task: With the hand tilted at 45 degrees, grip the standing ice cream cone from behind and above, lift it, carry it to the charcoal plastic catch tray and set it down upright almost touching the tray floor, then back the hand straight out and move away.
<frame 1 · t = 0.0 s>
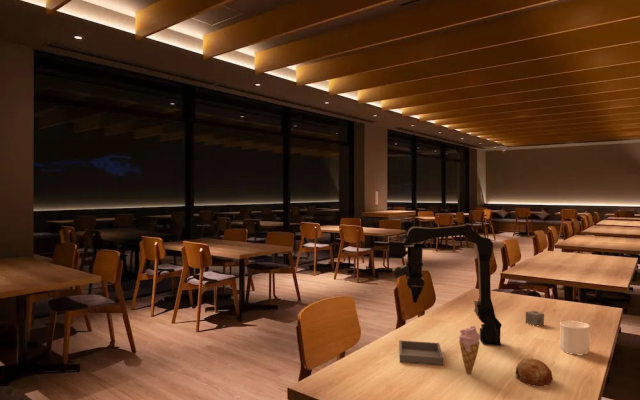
hand: (414, 299, 167), 15 cm above the table, tool pointing down, fingers open, 9 cm apart
ice cream cone: (468, 374, 134), on the table
dice cube: (534, 324, 186), on the table
cup: (574, 351, 155), on the table
bread roll: (533, 380, 131), on the table
catch tray: (420, 355, 148), on the table
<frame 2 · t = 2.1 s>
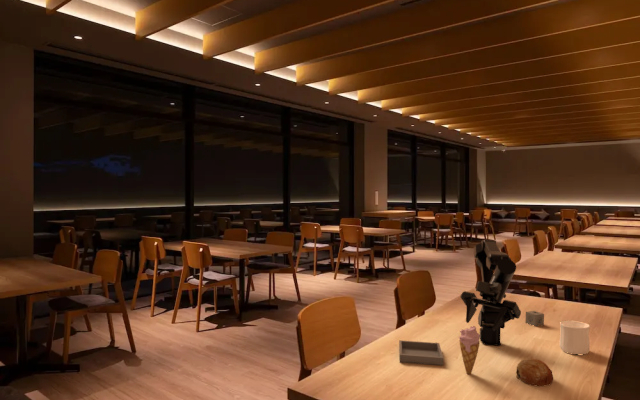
hand: (479, 325, 139), 13 cm above the table, tool tilted 45°, fingers open, 9 cm apart
nothing on the table moved.
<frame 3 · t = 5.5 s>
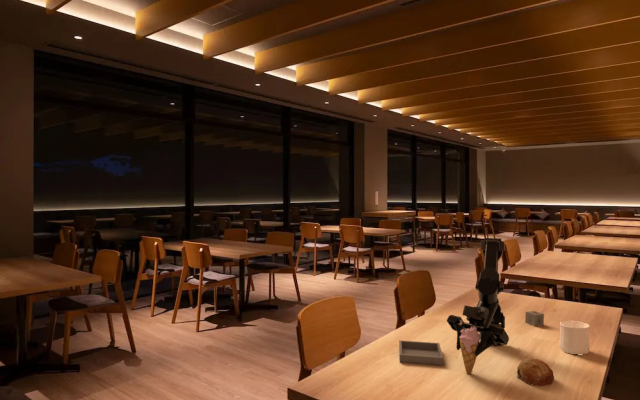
hand: (466, 352, 133), 7 cm above the table, tool tilted 45°, fingers closed on ice cream cone, 6 cm apart
ice cream cone: (468, 374, 134), on the table, touching gripper
everything else where it was.
when the fingers open (7 cm above the table, at t = 11.4 s): ice cream cone stays where it is, resting on catch tray.
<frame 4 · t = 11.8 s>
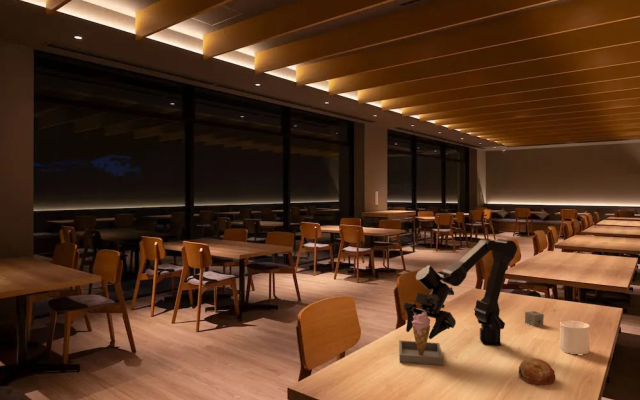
hand: (418, 334, 147), 8 cm above the table, tool tilted 45°, fingers open, 9 cm apart
ice cream cone: (420, 355, 148), resting on catch tray
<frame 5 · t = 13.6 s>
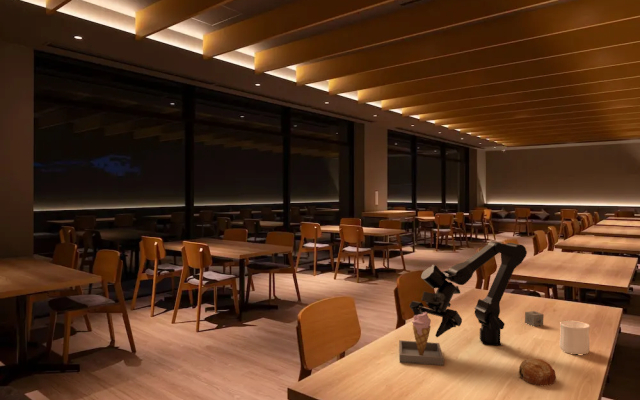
hand: (424, 333, 149), 7 cm above the table, tool tilted 45°, fingers open, 9 cm apart
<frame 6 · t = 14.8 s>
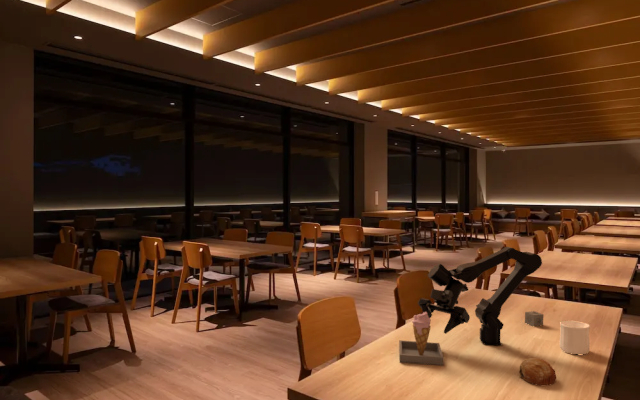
hand: (433, 329, 153), 8 cm above the table, tool tilted 45°, fingers open, 9 cm apart
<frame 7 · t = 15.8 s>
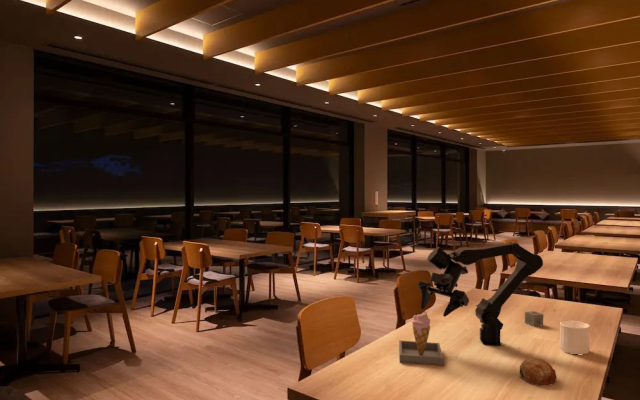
hand: (432, 312, 154), 13 cm above the table, tool tilted 40°, fingers open, 9 cm apart
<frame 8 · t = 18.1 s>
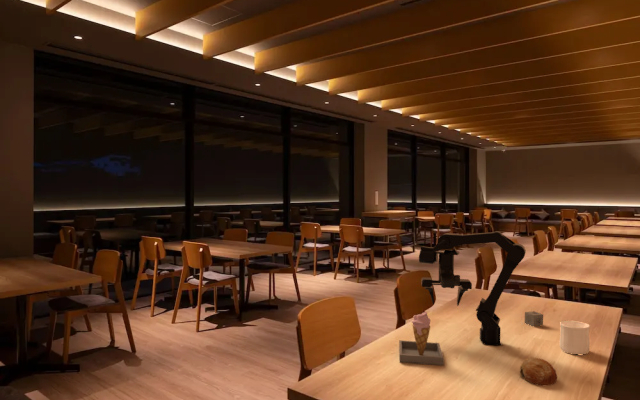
hand: (445, 304, 170), 12 cm above the table, tool pointing down, fingers open, 9 cm apart
at the end: ice cream cone inside the target area on the catch tray (0.2 cm from its centre), point 0.1 cm above the catch tray's base; ice cream cone tilted 1°; the gripper is holding nothing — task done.
